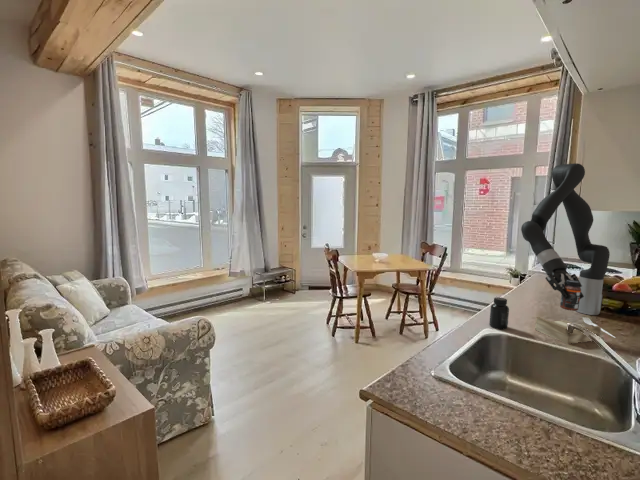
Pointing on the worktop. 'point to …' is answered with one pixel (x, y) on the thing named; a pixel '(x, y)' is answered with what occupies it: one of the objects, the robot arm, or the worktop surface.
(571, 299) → the supplement bottle
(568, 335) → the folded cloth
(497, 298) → the supplement bottle
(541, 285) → the worktop surface
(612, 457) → the worktop surface
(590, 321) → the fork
